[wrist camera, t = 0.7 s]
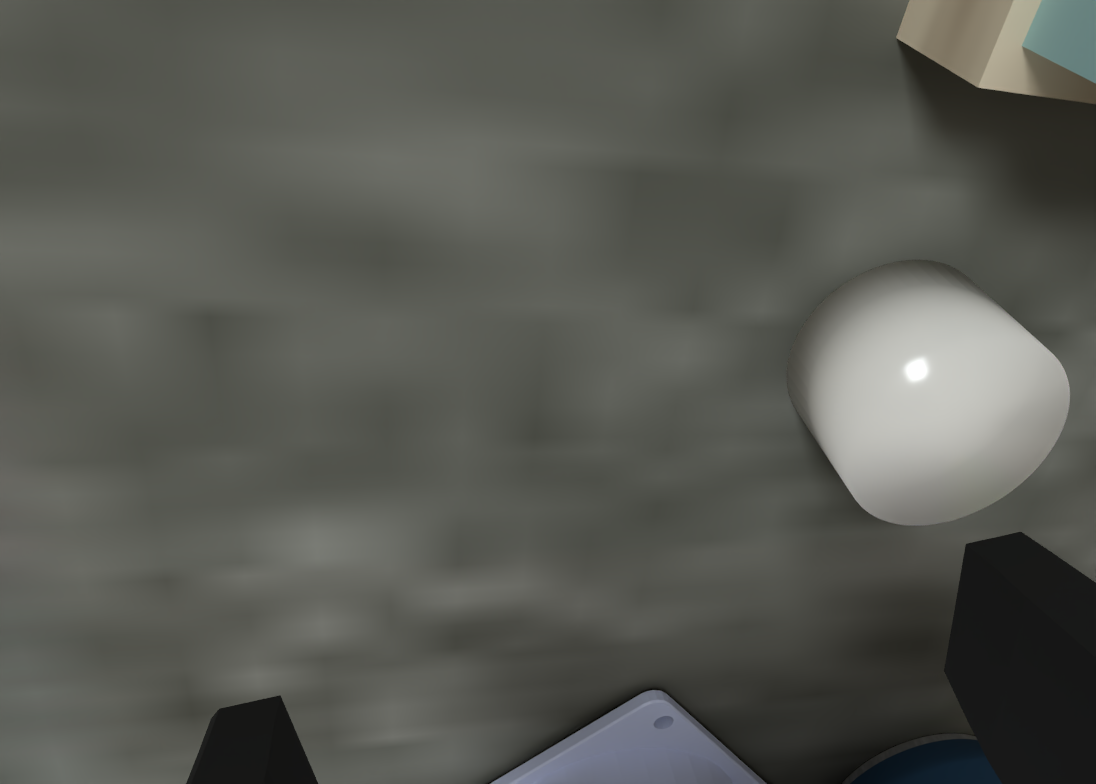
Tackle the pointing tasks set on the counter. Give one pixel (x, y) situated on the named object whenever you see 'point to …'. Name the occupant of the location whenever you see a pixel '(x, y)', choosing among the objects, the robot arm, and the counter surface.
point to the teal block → (1066, 35)
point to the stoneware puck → (925, 392)
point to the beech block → (989, 47)
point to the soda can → (929, 763)
